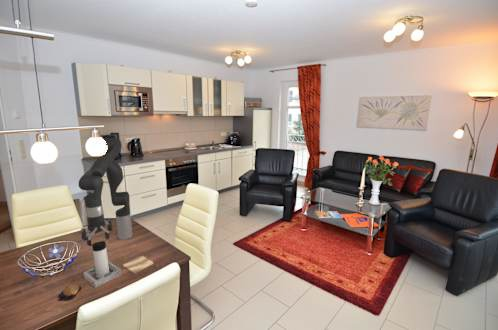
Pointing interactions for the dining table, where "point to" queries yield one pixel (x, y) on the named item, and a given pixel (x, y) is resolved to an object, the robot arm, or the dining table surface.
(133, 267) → the square tan coaster
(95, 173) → the robot arm
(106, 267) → the travel mug
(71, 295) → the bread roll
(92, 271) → the square frame
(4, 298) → the dining table surface
